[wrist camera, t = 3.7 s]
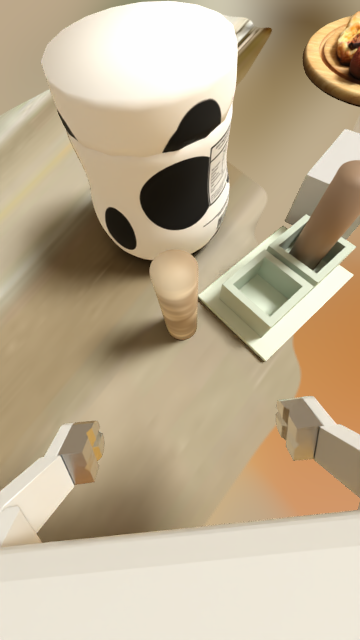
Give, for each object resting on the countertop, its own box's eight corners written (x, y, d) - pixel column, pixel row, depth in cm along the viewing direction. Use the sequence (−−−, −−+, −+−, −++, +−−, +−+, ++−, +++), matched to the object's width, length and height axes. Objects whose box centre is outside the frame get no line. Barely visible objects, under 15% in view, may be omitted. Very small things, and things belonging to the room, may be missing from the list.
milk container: (101, 195, 37) (24, 20, 20) (204, 170, 38) (211, -19, 21) (117, 285, 31) (26, 136, 14) (241, 253, 31) (294, 75, 15)
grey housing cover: (338, 248, 31) (376, 204, 24) (284, 221, 33) (306, 174, 26) (369, 202, 33) (412, 152, 27) (317, 180, 36) (345, 128, 29)
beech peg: (180, 345, 27) (170, 300, 16) (161, 324, 28) (139, 268, 17) (203, 326, 28) (208, 269, 17) (183, 306, 29) (176, 241, 18)
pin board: (264, 361, 26) (322, 320, 14) (197, 297, 29) (199, 221, 18) (350, 277, 29) (455, 187, 17) (281, 228, 33) (329, 126, 21)
